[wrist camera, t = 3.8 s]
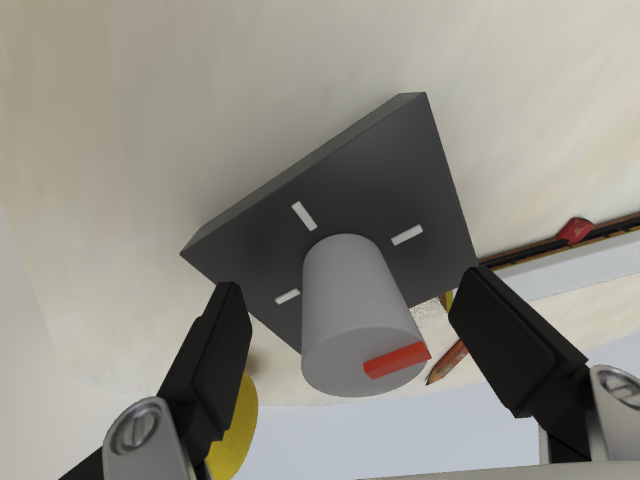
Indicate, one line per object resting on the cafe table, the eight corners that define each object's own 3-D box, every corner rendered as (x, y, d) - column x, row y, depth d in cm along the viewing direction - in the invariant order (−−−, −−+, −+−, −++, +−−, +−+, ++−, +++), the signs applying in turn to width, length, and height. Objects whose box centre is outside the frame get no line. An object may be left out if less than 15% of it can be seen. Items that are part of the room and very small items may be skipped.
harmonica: (686, 196, 13) (742, 210, 12) (663, 238, 15) (709, 256, 13) (435, 270, 15) (451, 291, 14) (438, 300, 17) (453, 323, 15)
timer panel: (301, 324, 17) (300, 357, 15) (199, 228, 13) (175, 256, 10) (457, 251, 14) (485, 279, 12) (400, 92, 10) (428, 90, 8)
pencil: (570, 213, 14) (587, 221, 13) (584, 218, 14) (601, 225, 13) (419, 379, 23) (423, 390, 22) (428, 380, 23) (432, 391, 22)
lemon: (201, 340, 18) (136, 490, 11) (271, 351, 19) (252, 491, 12) (196, 377, 20) (141, 516, 14) (257, 384, 22) (236, 515, 15)
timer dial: (328, 306, 13) (341, 418, 8) (286, 259, 11) (273, 370, 6) (394, 275, 12) (449, 382, 7) (360, 217, 10) (406, 314, 5)
